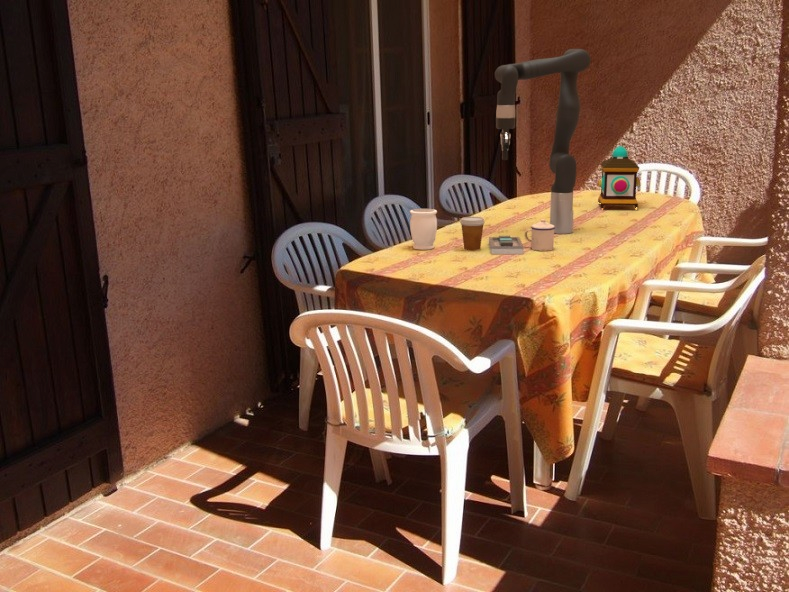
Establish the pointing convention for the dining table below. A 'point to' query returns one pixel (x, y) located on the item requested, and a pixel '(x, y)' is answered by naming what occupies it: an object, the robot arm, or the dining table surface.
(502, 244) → the dark taupe block
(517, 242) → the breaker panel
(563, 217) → the robot arm
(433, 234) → the jar
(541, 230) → the teacup with lid
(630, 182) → the decorative lantern
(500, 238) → the teal rectangular box
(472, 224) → the disposable coffee cup
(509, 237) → the grey rectangular prism
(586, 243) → the dining table surface
